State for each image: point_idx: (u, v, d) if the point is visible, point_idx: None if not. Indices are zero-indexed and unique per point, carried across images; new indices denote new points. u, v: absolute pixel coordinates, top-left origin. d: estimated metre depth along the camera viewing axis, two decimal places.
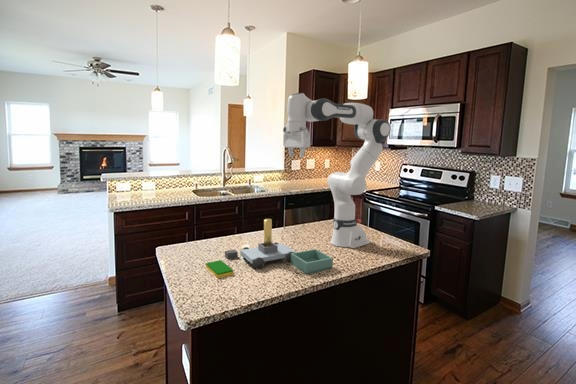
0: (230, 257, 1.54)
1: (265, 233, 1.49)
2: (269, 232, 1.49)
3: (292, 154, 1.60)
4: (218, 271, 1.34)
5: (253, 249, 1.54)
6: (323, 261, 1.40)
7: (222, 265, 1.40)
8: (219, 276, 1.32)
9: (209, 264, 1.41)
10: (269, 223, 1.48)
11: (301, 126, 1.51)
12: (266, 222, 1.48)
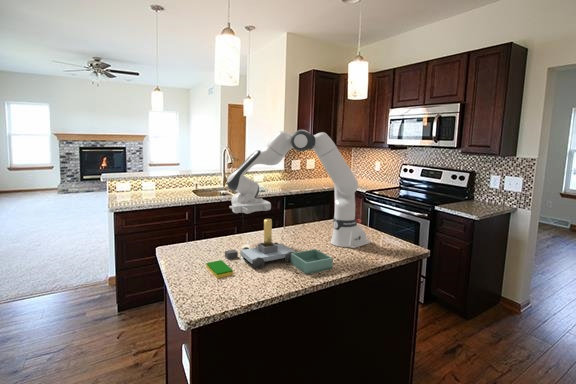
0: (230, 257, 1.54)
1: (265, 233, 1.49)
2: (269, 232, 1.49)
3: (263, 208, 1.63)
4: (218, 271, 1.34)
5: (253, 249, 1.54)
6: (323, 261, 1.40)
7: (222, 265, 1.40)
8: (218, 276, 1.32)
9: (209, 264, 1.42)
10: (269, 223, 1.48)
11: None
12: (266, 222, 1.48)
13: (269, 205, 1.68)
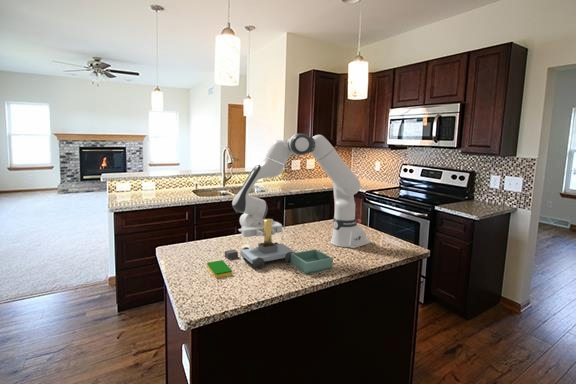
0: (230, 257, 1.54)
1: (265, 233, 1.49)
2: (269, 232, 1.49)
3: None
4: (217, 271, 1.34)
5: (253, 249, 1.54)
6: (323, 261, 1.40)
7: (222, 265, 1.40)
8: (217, 276, 1.32)
9: (210, 264, 1.42)
10: (269, 223, 1.48)
11: None
12: (266, 222, 1.48)
13: (280, 227, 1.58)
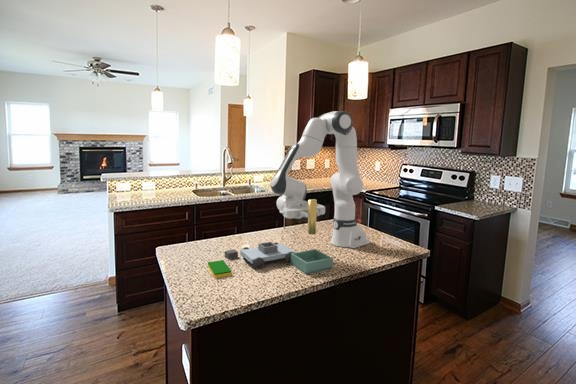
0: (231, 257, 1.54)
1: (310, 214, 1.40)
2: (314, 213, 1.40)
3: None
4: (216, 271, 1.34)
5: (253, 249, 1.54)
6: (323, 261, 1.40)
7: (222, 265, 1.40)
8: (216, 276, 1.32)
9: (210, 263, 1.42)
10: (314, 203, 1.40)
11: None
12: (311, 202, 1.39)
13: (323, 209, 1.49)
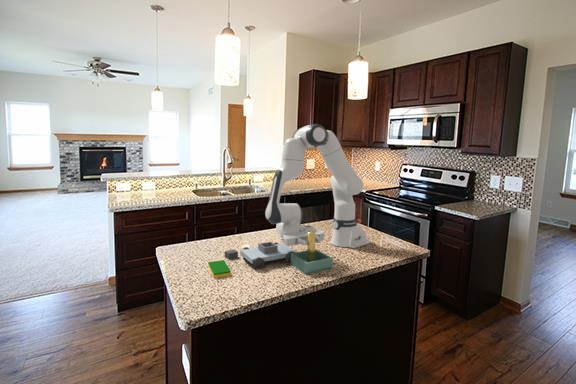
0: (231, 257, 1.54)
1: (309, 246, 1.43)
2: (313, 245, 1.42)
3: (316, 240, 1.45)
4: (215, 271, 1.34)
5: (253, 249, 1.54)
6: (323, 261, 1.40)
7: (222, 265, 1.40)
8: (215, 276, 1.32)
9: (210, 263, 1.42)
10: (313, 236, 1.42)
11: None
12: (310, 235, 1.41)
13: (323, 235, 1.51)
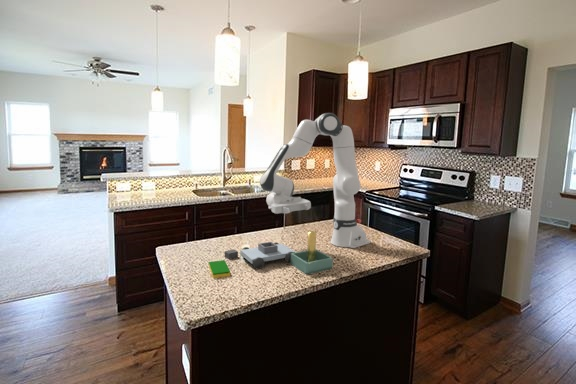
0: (231, 257, 1.54)
1: (309, 246, 1.43)
2: (314, 245, 1.42)
3: (305, 207, 1.55)
4: (215, 271, 1.34)
5: (253, 249, 1.54)
6: (323, 261, 1.40)
7: (222, 265, 1.40)
8: (215, 276, 1.32)
9: (211, 263, 1.42)
10: (314, 236, 1.42)
11: None
12: (310, 234, 1.42)
13: (309, 204, 1.60)
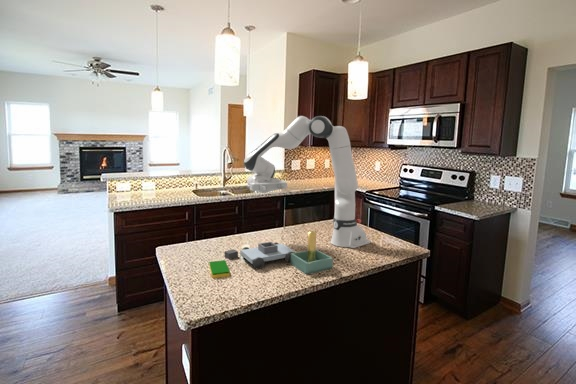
0: (231, 257, 1.54)
1: (309, 246, 1.43)
2: (314, 245, 1.42)
3: (280, 187, 1.67)
4: (214, 271, 1.34)
5: (253, 249, 1.54)
6: (323, 261, 1.40)
7: (222, 265, 1.40)
8: (214, 276, 1.32)
9: (211, 263, 1.43)
10: (314, 236, 1.42)
11: None
12: (311, 234, 1.42)
13: (285, 184, 1.72)
